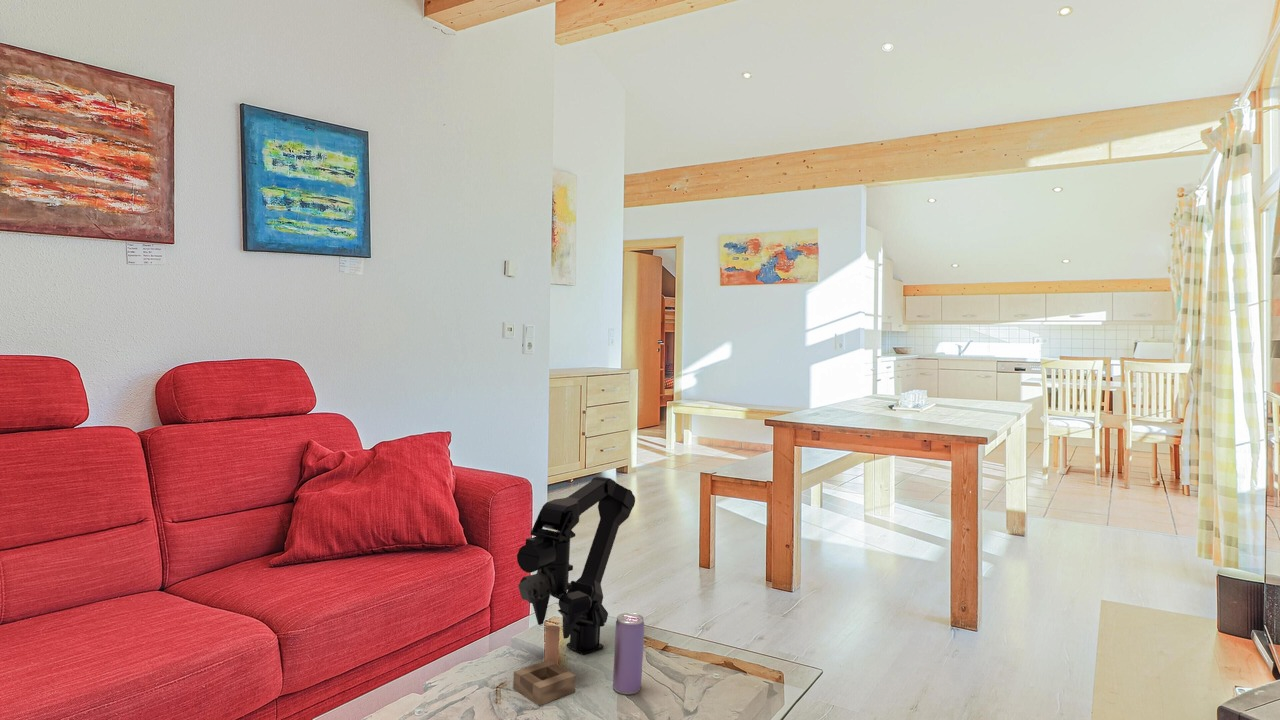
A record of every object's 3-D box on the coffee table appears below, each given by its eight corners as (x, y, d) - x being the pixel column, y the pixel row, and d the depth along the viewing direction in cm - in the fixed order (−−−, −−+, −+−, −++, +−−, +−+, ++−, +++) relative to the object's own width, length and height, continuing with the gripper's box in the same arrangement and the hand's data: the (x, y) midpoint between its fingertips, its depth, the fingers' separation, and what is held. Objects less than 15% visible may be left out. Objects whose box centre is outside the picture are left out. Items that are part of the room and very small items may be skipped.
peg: (552, 664, 161) (554, 624, 161) (560, 669, 159) (562, 628, 158) (541, 668, 159) (543, 627, 158) (549, 673, 156) (551, 631, 156)
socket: (548, 676, 155) (549, 659, 155) (574, 692, 149) (575, 675, 149) (513, 688, 149) (513, 671, 149) (539, 705, 142) (539, 688, 142)
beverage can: (637, 697, 148) (641, 624, 147) (609, 693, 149) (613, 621, 149) (643, 684, 154) (647, 614, 153) (616, 680, 155) (619, 610, 154)
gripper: (501, 556, 159) (498, 626, 160) (552, 579, 146) (548, 655, 146) (542, 548, 167) (539, 614, 167) (594, 569, 154) (591, 641, 154)
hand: (552, 631), depth 159 cm, fingers open, 9 cm apart
